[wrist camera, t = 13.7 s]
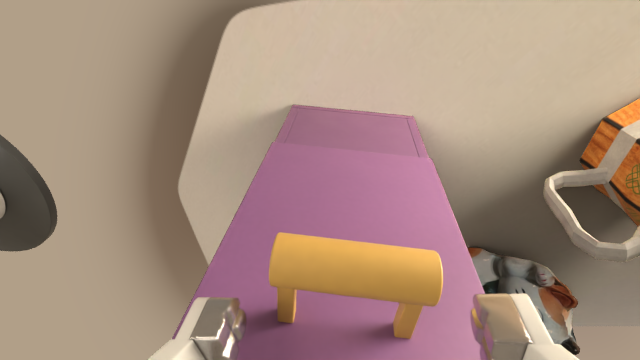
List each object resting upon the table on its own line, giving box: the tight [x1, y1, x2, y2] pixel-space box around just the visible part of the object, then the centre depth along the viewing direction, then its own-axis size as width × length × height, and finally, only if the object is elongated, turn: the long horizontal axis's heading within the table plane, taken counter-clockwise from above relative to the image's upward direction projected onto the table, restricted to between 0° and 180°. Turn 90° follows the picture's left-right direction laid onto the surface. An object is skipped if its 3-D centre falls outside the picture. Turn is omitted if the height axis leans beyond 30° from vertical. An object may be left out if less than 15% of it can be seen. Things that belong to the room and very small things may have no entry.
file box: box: [275, 105, 429, 158], centre depth 37 cm, size 18×14×10 cm
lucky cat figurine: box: [467, 247, 580, 355], centre depth 43 cm, size 15×12×14 cm
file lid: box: [172, 142, 485, 360], centre depth 19 cm, size 19×14×5 cm
